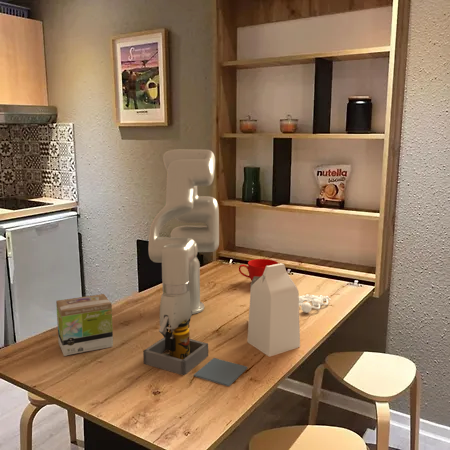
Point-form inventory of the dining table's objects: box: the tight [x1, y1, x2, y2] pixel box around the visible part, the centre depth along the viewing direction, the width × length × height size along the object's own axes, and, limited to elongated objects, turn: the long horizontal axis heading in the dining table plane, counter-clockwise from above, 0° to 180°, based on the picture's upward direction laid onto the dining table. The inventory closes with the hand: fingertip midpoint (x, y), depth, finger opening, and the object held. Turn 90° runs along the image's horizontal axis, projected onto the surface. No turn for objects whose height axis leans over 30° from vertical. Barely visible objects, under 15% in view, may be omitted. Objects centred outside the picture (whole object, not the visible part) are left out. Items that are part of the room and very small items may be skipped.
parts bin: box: [142, 336, 209, 376], centre depth 141 cm, size 14×13×4 cm
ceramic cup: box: [238, 258, 279, 282], centre depth 206 cm, size 13×17×10 cm
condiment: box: [163, 320, 191, 360], centre depth 140 cm, size 7×8×12 cm
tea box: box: [55, 293, 114, 357], centre depth 149 cm, size 15×10×15 cm, turn 117°
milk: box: [247, 262, 301, 357], centre depth 149 cm, size 12×12×26 cm
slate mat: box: [193, 357, 248, 387], centre depth 135 cm, size 11×11×1 cm
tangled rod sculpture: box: [299, 293, 331, 314], centre depth 185 cm, size 19×14×4 cm
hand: (177, 344), depth 141 cm, fingers closed on condiment, 6 cm apart
